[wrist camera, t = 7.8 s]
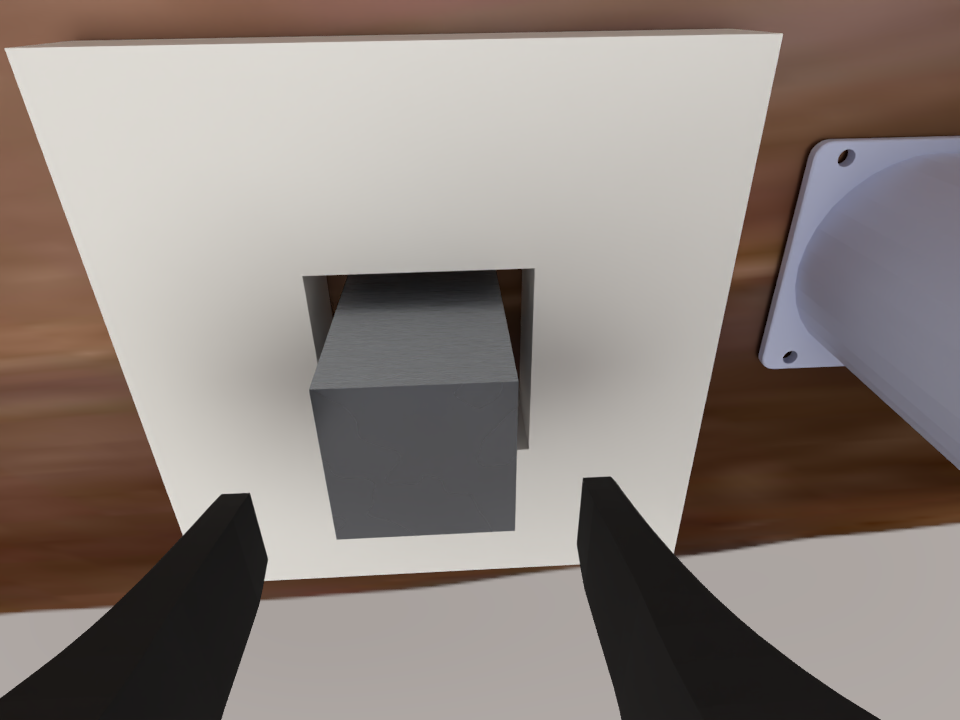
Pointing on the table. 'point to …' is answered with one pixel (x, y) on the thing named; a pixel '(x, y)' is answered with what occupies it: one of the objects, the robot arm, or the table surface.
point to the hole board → (409, 248)
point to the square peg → (418, 406)
